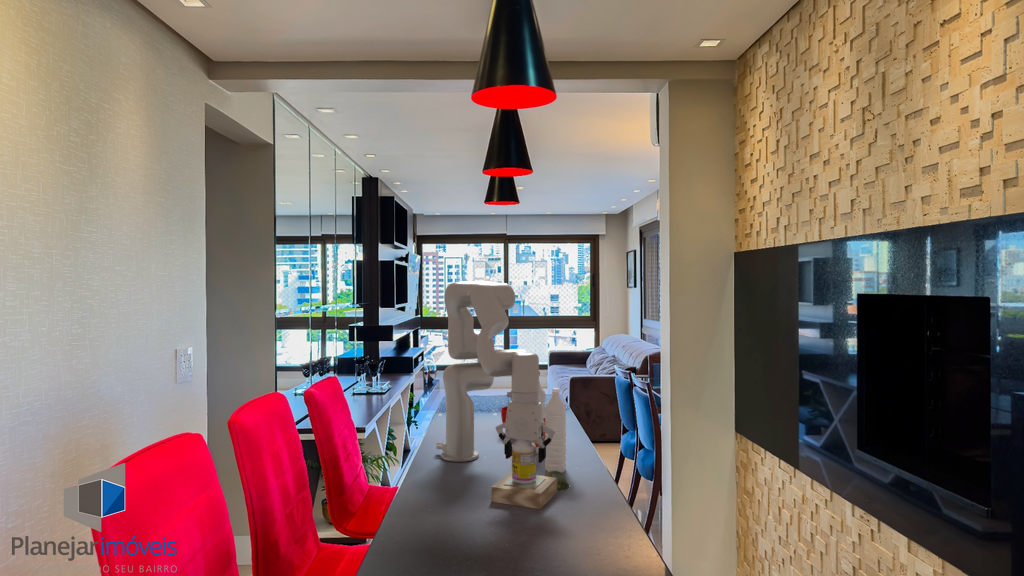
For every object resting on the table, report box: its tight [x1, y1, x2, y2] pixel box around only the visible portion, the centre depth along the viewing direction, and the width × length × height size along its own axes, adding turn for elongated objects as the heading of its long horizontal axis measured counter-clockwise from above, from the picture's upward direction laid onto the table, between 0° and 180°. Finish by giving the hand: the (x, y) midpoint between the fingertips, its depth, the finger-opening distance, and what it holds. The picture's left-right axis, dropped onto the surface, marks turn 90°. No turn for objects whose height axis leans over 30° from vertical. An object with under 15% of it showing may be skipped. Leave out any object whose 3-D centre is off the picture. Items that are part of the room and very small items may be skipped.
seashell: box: [543, 471, 570, 492], centre depth 176 cm, size 10×4×10 cm
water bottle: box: [544, 387, 567, 473], centre depth 192 cm, size 9×6×25 cm
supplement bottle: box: [511, 440, 537, 484], centre depth 167 cm, size 7×7×13 cm
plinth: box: [490, 471, 558, 510], centre depth 167 cm, size 14×14×4 cm
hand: (525, 459), depth 167 cm, fingers open, 9 cm apart
